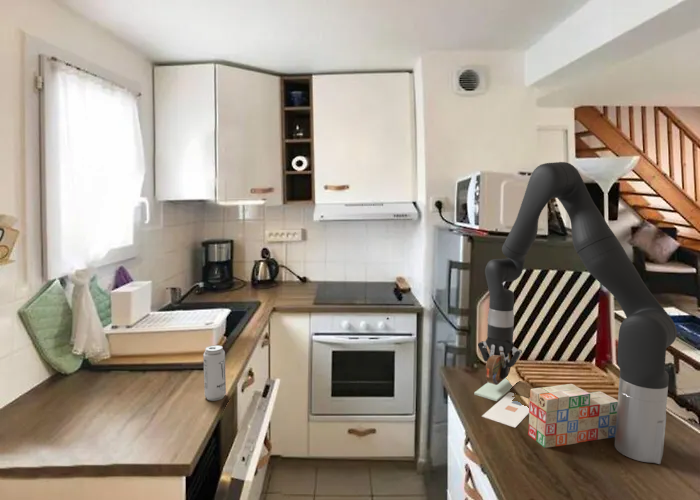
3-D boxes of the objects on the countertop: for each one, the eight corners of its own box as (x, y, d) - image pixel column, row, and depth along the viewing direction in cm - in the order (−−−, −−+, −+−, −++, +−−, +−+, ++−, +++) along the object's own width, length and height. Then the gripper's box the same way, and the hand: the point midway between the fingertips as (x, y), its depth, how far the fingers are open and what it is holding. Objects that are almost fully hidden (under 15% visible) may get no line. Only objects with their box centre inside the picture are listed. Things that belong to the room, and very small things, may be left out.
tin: (492, 388, 129) (494, 361, 128) (482, 385, 131) (484, 358, 130) (511, 373, 140) (513, 348, 139) (501, 371, 142) (503, 346, 141)
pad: (519, 381, 141) (520, 379, 141) (496, 401, 126) (496, 399, 126) (498, 375, 145) (498, 373, 145) (474, 394, 131) (474, 392, 131)
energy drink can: (222, 401, 125) (221, 351, 124) (201, 401, 125) (200, 351, 124) (228, 392, 131) (227, 344, 130) (208, 392, 131) (207, 344, 130)
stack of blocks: (598, 424, 114) (601, 379, 112) (618, 437, 108) (622, 389, 106) (527, 435, 108) (529, 387, 107) (544, 448, 102) (547, 398, 101)
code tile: (539, 404, 127) (540, 400, 127) (515, 431, 112) (515, 427, 112) (509, 395, 133) (509, 391, 133) (481, 419, 118) (481, 415, 117)
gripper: (528, 324, 132) (525, 379, 134) (484, 316, 141) (481, 367, 143) (519, 330, 126) (516, 387, 128) (474, 321, 135) (471, 374, 137)
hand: (498, 376), depth 135 cm, fingers closed on tin, 2 cm apart
